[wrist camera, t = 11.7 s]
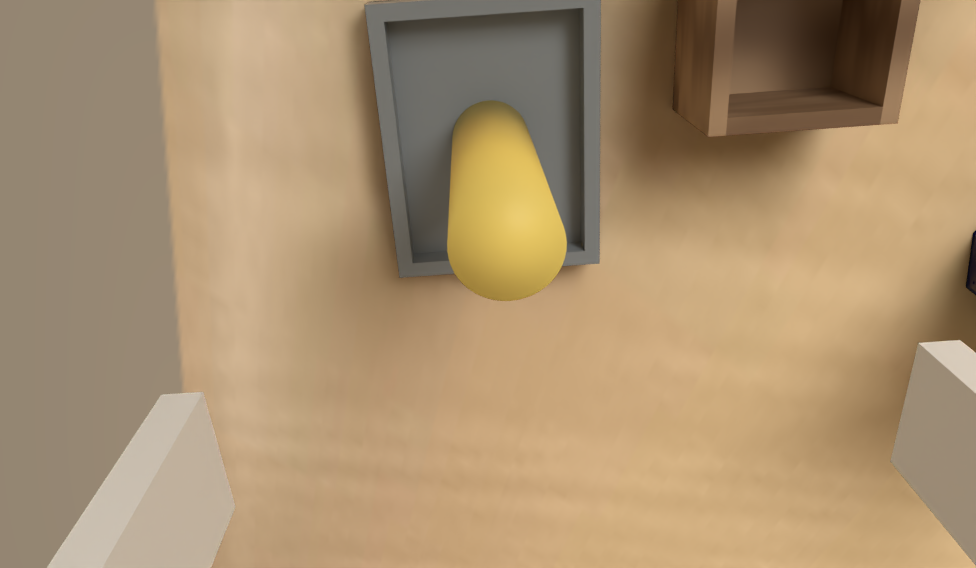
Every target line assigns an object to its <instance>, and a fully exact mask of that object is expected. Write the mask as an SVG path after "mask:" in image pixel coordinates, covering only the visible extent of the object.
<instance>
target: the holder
mask: <svg viewBox="0 0 976 568" xmlns="http://www.w3.org/2000/svg"><path fill="white" fill-rule="evenodd" d="M919 4H920V0H678V10H677V31H676V52H675V73H674V94H673V110H674V111H675V112H677V113H678V114H679V115H681V116H682V117H683V118H685V119H686V120H687V121H688V122H690V123H691V124H692V125H694V126H695V127H696V128H697V129H699V130H700V131H701V132H703V133H704V134H705V135H707V136H708V137H713V136H727V135H741V134H755V133H769V132H783V131H798V130H812V129H826V128H840V127H854V126H868V125H882V124H896V123H898V119H899V113H900V108H901V102H902V97H903V91H904V86H905V81H906V75H907V70H908V64H909V59H910V53H911V48H912V42H913V37H914V32H915V26H916V21H917V15H918V10H919Z"/></svg>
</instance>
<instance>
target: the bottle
mask: <svg viewBox="0 0 976 568" xmlns="http://www.w3.org/2000/svg"><path fill="white" fill-rule="evenodd" d="M966 288H968V289H969V290H970V291H971V292H973V293H974V294H975V295H976V231H975V232H974V233H973V239H972V246H971V253H970V260H969V267H968V275H967V282H966Z"/></svg>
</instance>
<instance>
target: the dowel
mask: <svg viewBox="0 0 976 568" xmlns="http://www.w3.org/2000/svg"><path fill="white" fill-rule="evenodd" d="M566 248H567V240H566V233H565V229H564V226H563V223H562V221H561V218H560V215H559V213H558V210H557V207H556V204H555V202H554V199H553V196H552V194H551V191H550V188H549V185H548V183H547V180H546V177H545V175H544V172H543V169H542V166H541V164H540V161H539V158H538V156H537V153H536V150H535V147H534V145H533V142H532V139H531V137H530V134H529V131H528V128H527V126H526V123H525V121H524V119H523V117H522V116H521V115H520V113H519V112H518V111H517V110H515V109H514V108H513V107H511V106H510V105H508V104H506V103H503V102H500V101H494V100H488V101H482V102H478V103H476V104H474V105H472V106H470V107H469V108H467V109H466V110H465V111H464V112H463V113H462V114H461V115H460V117H459V118H458V120H457V121H456V124H455V126H454V130H453V136H452V155H451V176H450V197H449V218H448V239H447V252H448V258H449V262H450V265H451V267H452V269H453V271H454V273H455V275H456V276H457V278H458V279H459V280H460V281H461V282H462V284H464V285H465V286H466V287H467V288H468V289H470V290H471V291H473V292H474V293H476V294H478V295H480V296H482V297H485V298H488V299H493V300H499V301H512V300H519V299H523V298H526V297H529V296H531V295H533V294H535V293H537V292H539V291H540V290H542V289H543V288H545V287H546V286H547V285H548V284H549V283H550V282H551V281H552V280H553V279H554V278H555V277H556V275H557V274H558V272H559V271H560V269H561V267H562V265H563V262H564V259H565V255H566Z"/></svg>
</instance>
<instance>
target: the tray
mask: <svg viewBox="0 0 976 568" xmlns="http://www.w3.org/2000/svg"><path fill="white" fill-rule="evenodd" d="M365 12H366V20H367V28H368V36H369V43H370V51H371V59H372V67H373V75H374V82H375V90H376V98H377V106H378V114H379V121H380V129H381V137H382V145H383V153H384V160H385V168H386V176H387V184H388V192H389V199H390V207H391V215H392V223H393V231H394V238H395V246H396V254H397V262H398V269H399V277H400V278H403V277H417V276H431V275H445V274H455V273H454V271H453V269H452V267H451V265H450V262H449V258H448V252H447V239H448V218H449V197H450V176H451V155H452V136H453V130H454V126H455V124H456V121H457V120H458V118H459V117H460V115H461V114H462V113H463V112H464V111H465V110H466V109H467V108H469V107H470V106H472V105H474V104H476V103H478V102H482V101H488V100H494V101H500V102H503V103H506V104H508V105H510V106H511V107H513V108H514V109H515V110H517V111H518V112H519V113H520V115H521V116H522V117H523V119H524V121H525V123H526V126H527V128H528V131H529V134H530V137H531V139H532V142H533V145H534V147H535V150H536V153H537V156H538V158H539V161H540V164H541V166H542V169H543V172H544V175H545V177H546V180H547V183H548V185H549V188H550V191H551V194H552V196H553V199H554V202H555V204H556V207H557V210H558V213H559V215H560V218H561V221H562V223H563V226H564V229H565V233H566V240H567V248H566V255H565V259H564V262H563V265H562V266H571V265H585V264H599V261H600V44H601V0H388V1H374V2H368V3H367V4H365Z"/></svg>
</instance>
